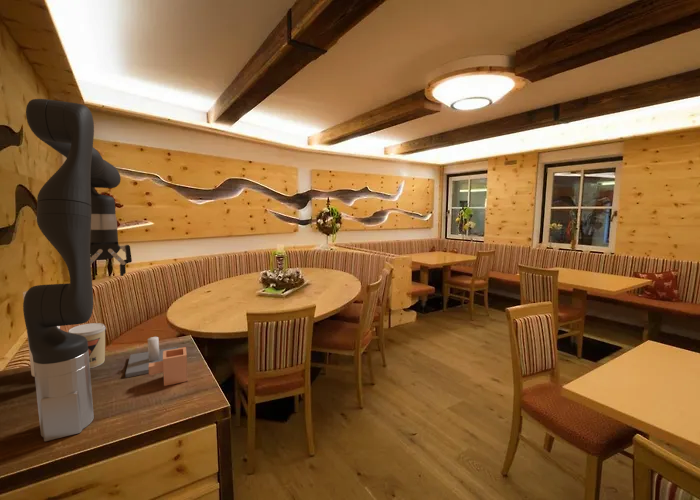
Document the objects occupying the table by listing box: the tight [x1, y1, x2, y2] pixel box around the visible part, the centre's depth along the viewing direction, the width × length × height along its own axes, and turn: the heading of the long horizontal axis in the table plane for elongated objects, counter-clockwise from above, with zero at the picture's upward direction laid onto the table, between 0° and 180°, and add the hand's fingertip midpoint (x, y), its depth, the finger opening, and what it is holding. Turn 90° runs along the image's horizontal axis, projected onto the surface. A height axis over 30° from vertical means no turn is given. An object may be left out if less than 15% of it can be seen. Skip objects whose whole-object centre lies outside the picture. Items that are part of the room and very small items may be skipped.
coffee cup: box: [67, 322, 106, 369], centre depth 101 cm, size 9×9×12 cm
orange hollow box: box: [148, 346, 189, 387], centre depth 93 cm, size 6×10×8 cm, turn 119°
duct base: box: [124, 336, 179, 378], centre depth 104 cm, size 14×14×8 cm
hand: (106, 277), depth 106 cm, fingers open, 8 cm apart
